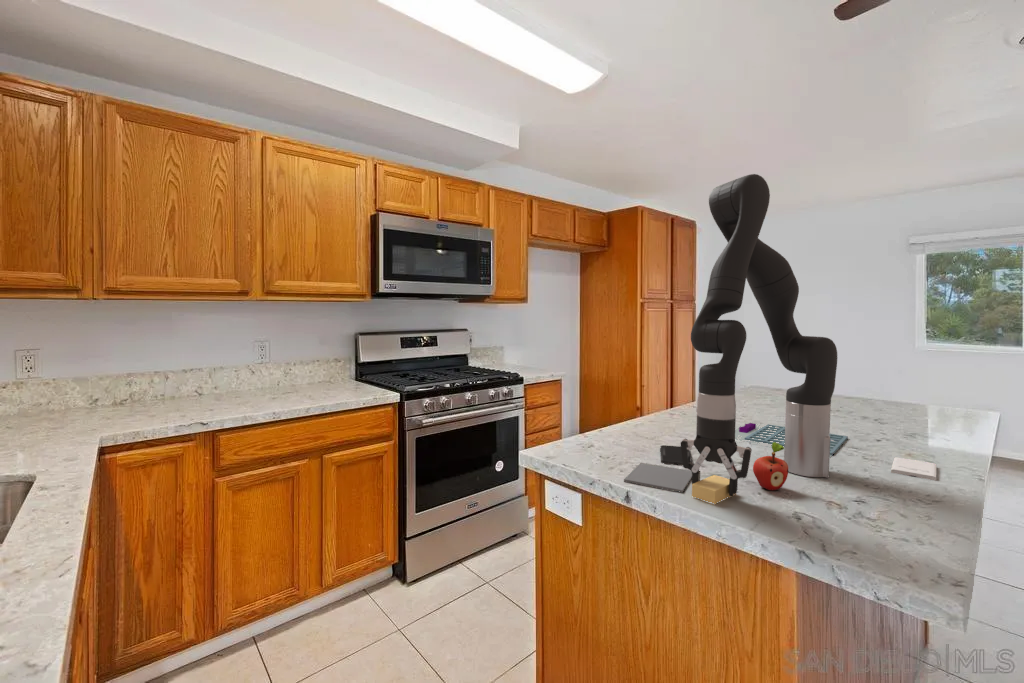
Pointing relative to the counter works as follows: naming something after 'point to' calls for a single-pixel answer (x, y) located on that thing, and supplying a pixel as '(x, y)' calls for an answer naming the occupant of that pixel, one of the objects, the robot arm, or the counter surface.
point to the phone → (671, 455)
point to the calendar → (752, 431)
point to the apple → (771, 470)
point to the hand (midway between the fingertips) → (713, 491)
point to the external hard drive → (914, 468)
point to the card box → (711, 489)
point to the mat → (660, 477)
